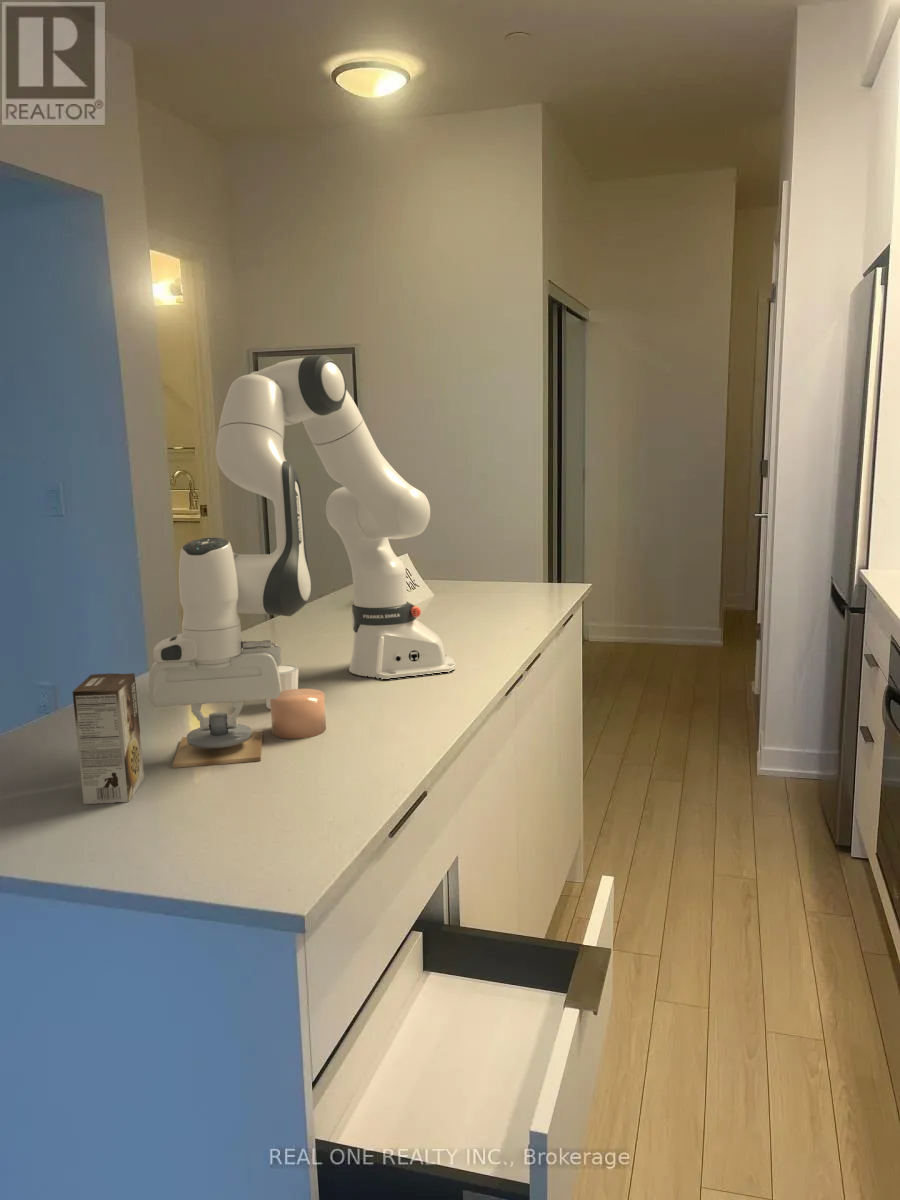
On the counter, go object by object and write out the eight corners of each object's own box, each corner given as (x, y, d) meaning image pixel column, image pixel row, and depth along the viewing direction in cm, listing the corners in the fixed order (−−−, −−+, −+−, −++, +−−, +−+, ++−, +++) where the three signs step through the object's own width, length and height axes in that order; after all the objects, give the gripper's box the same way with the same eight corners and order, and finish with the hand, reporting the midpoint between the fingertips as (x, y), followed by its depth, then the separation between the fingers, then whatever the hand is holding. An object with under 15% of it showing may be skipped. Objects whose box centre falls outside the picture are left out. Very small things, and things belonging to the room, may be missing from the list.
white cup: (307, 701, 173) (305, 665, 172) (289, 712, 167) (287, 674, 165) (274, 699, 175) (272, 663, 174) (255, 709, 169) (253, 672, 168)
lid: (253, 725, 152) (251, 703, 151) (250, 745, 142) (248, 721, 142) (190, 730, 150) (188, 708, 150) (183, 750, 141) (181, 726, 140)
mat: (262, 734, 154) (262, 731, 154) (260, 760, 141) (260, 757, 141) (182, 740, 152) (182, 737, 152) (172, 767, 139) (172, 764, 139)
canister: (325, 720, 161) (323, 687, 160) (327, 736, 152) (325, 701, 151) (272, 724, 160) (270, 690, 159) (271, 740, 151) (269, 705, 150)
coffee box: (100, 781, 135) (90, 673, 132) (145, 778, 135) (136, 671, 132) (81, 805, 126) (70, 690, 123) (129, 802, 126) (119, 688, 123)
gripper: (280, 635, 148) (285, 718, 151) (148, 643, 145) (155, 727, 147) (280, 643, 142) (285, 729, 145) (142, 652, 139) (150, 740, 141)
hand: (218, 728), depth 146 cm, fingers closed on lid, 3 cm apart
